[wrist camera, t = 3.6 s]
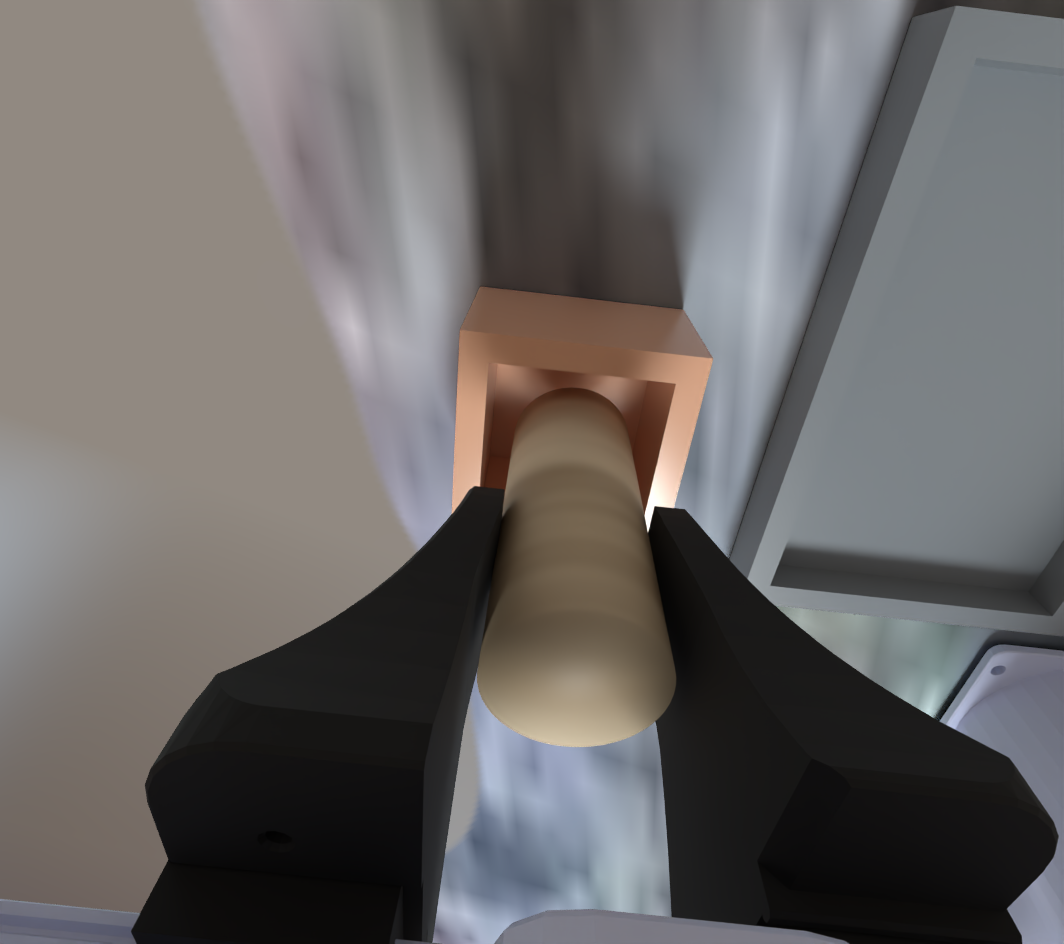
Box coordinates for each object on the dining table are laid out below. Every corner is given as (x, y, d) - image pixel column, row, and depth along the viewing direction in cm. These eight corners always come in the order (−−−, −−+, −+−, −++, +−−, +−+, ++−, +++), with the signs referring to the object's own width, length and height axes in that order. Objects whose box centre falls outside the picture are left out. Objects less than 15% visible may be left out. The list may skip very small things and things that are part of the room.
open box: (643, 482, 20) (660, 558, 17) (469, 463, 20) (450, 535, 17) (683, 309, 17) (713, 358, 14) (479, 286, 17) (459, 329, 14)
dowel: (617, 494, 17) (654, 756, 10) (509, 482, 17) (472, 736, 10) (638, 394, 15) (696, 621, 9) (519, 381, 15) (483, 598, 9)
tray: (1028, 599, 22) (1063, 636, 21) (726, 567, 22) (739, 601, 20) (1384, 75, 14) (1487, 70, 13) (912, 17, 14) (955, 5, 12)
